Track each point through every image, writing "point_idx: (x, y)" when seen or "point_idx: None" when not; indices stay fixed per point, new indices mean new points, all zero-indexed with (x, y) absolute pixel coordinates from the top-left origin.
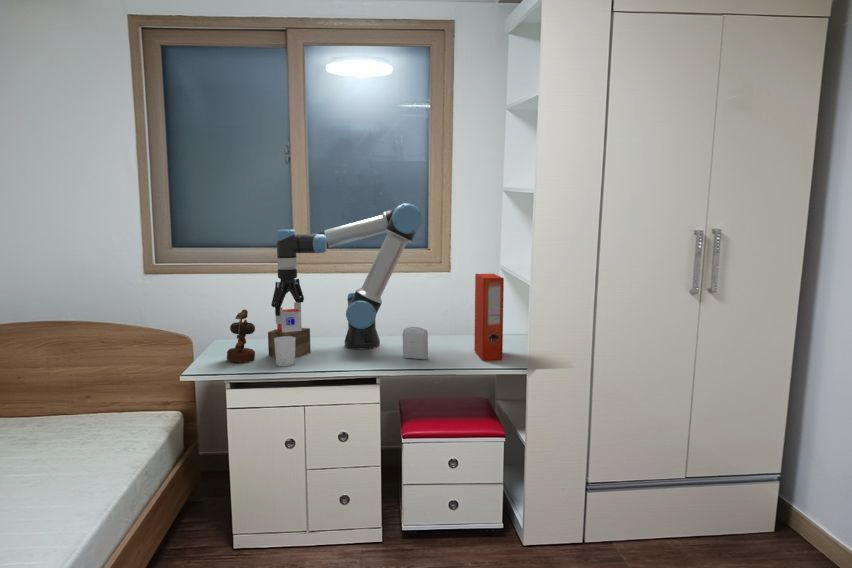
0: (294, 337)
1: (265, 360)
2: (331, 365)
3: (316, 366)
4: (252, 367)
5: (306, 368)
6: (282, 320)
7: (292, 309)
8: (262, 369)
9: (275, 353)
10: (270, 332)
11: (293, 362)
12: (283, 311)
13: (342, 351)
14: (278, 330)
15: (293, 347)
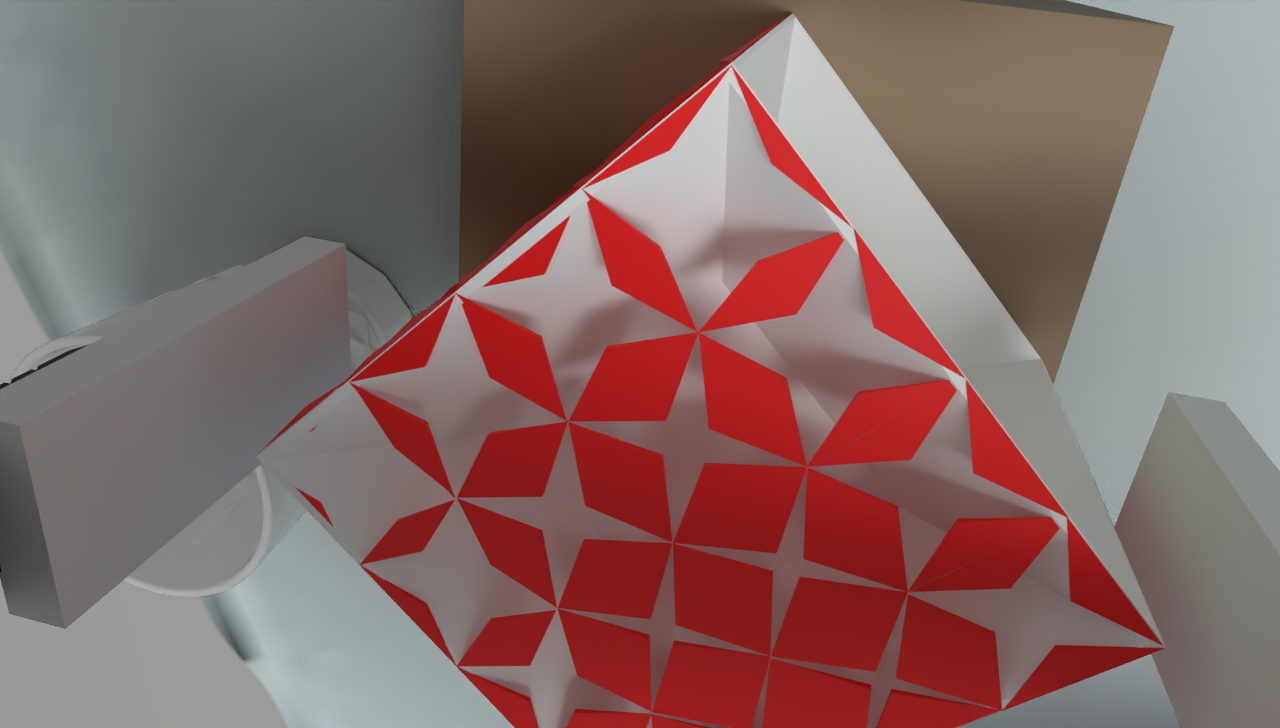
0: (237, 573)
1: (405, 18)
2: (436, 712)
3: (365, 614)
4: (92, 39)
5: (277, 556)
6: (301, 419)
7: (969, 576)
8: (83, 191)
9: (199, 281)
10: (467, 12)
11: None
12: (823, 288)
13: (1032, 719)
14: (660, 106)
15: (223, 521)
